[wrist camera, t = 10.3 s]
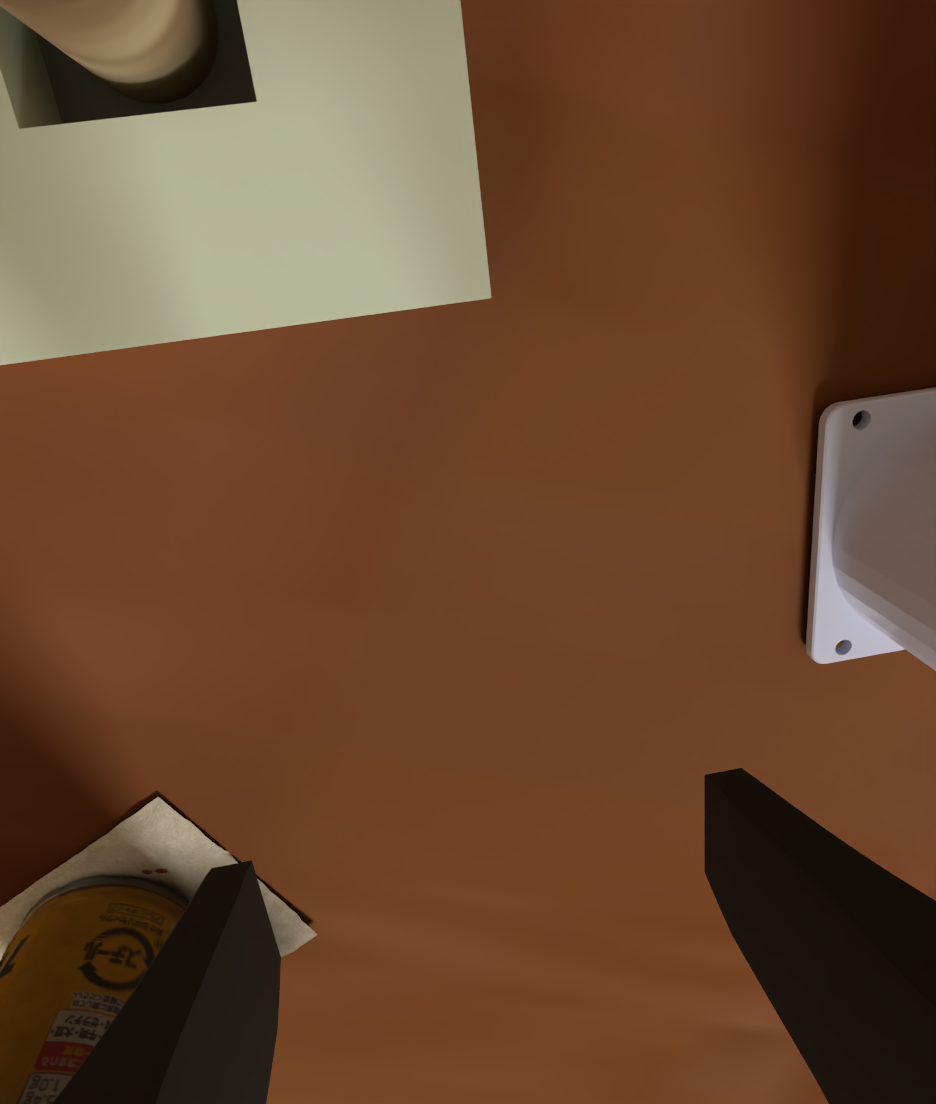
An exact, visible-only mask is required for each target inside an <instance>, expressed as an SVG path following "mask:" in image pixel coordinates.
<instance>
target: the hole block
mask: <svg viewBox="0 0 936 1104" xmlns="http://www.w3.org/2000/svg"><path fill="white" fill-rule="evenodd" d="M212 3H213V7H214V10H215V14H216V19H217V26H218V45H217V51H216V56H215V59H214V62H213V65H212V67H211V70H210V72H209V74H208V75H207V77H206V78H205V80H204V81H203V82H202V83H201V85H200V86H199V87H198V88H197V89H196V90H194V91H193V92H192V93H191V94H189V95H187V96H186V97H184V98H182V99H179V100H177V101H173V102H169V103H160V104H155V103H146V102H141V101H137V100H134V99H132V98H129V97H127V96H125V95H123V94H121V93H119V92H118V91H116V90H115V89H113V88H112V87H110V86H109V85H107V84H106V83H105V82H103V81H102V80H101V79H99V78H98V77H97V76H95V75H94V74H92V73H91V72H90V71H88V70H87V69H86V68H84V67H83V66H82V65H80V64H79V63H77V62H76V61H75V60H73V59H72V58H71V57H69V56H68V55H67V54H65V53H64V52H62V51H61V50H60V49H58V48H57V47H56V46H54V45H53V44H52V43H50V42H49V41H47V40H46V39H45V38H43V37H42V36H41V35H39V34H38V33H37V32H35V31H34V30H32V29H31V28H30V27H28V26H27V25H26V24H24V23H23V22H22V21H20V20H19V19H17V18H16V17H15V16H13V15H12V14H11V13H9V12H8V11H7V10H5V9H4V8H2V7H1V6H0V365H5V364H13V363H20V362H27V361H35V360H42V359H49V358H56V357H64V356H71V355H78V354H86V353H93V352H100V351H108V350H115V349H122V348H130V347H137V346H144V345H152V344H159V343H166V342H174V341H181V340H188V339H195V338H203V337H210V336H217V335H225V334H232V333H239V332H247V331H254V330H261V329H269V328H276V327H283V326H291V325H298V324H305V323H313V322H320V321H327V320H334V319H342V318H349V317H356V316H364V315H371V314H378V313H386V312H393V311H400V310H408V309H415V308H422V307H430V306H437V305H444V304H452V303H459V302H466V301H473V300H481V299H488V298H491V290H490V280H489V271H488V261H487V251H486V242H485V232H484V223H483V213H482V203H481V194H480V184H479V175H478V165H477V155H476V146H475V136H474V127H473V117H472V107H471V98H470V88H469V79H468V69H467V60H466V50H465V40H464V31H463V21H462V12H461V2H460V0H212Z"/></svg>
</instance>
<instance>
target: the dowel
mask: <svg viewBox="0 0 936 1104" xmlns="http://www.w3.org/2000/svg"><path fill="white" fill-rule="evenodd" d="M0 6H1V7H2V8H4V9H5V10H7V11H8V12H9V13H11V14H12V15H13V16H15V17H16V18H17V19H19V20H20V21H22V22H23V23H24V24H26V25H27V26H28V27H30V28H31V29H32V30H34V31H35V32H37V33H38V34H39V35H41V36H42V37H43V38H45V39H46V40H47V41H49V42H50V43H52V44H53V45H54V46H56V47H57V48H58V49H60V50H61V51H62V52H64V53H65V54H67V55H68V56H69V57H71V58H72V59H73V60H75V61H76V62H77V63H79V64H80V65H82V66H83V67H84V68H86V69H87V70H88V71H90V72H91V73H92V74H94V75H95V76H97V77H98V78H99V79H101V80H102V81H103V82H105V83H106V84H107V85H109V86H110V87H112V88H113V89H115V90H116V91H118V92H119V93H121V94H123V95H125V96H127V97H129V98H132V99H134V100H137V101H141V102H146V103H155V104H160V103H169V102H173V101H177V100H179V99H182V98H184V97H186V96H187V95H189V94H191V93H192V92H193V91H194V90H196V89H197V88H198V87H199V86H200V85H201V83H202V82H203V81H204V80H205V78H206V77H207V75H208V74H209V72H210V70H211V67H212V65H213V62H214V59H215V56H216V51H217V45H218V26H217V19H216V14H215V10H214V7H213V3H212V0H0Z"/></svg>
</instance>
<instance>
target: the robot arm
mask: <svg viewBox="0 0 936 1104" xmlns="http://www.w3.org/2000/svg"><path fill="white" fill-rule="evenodd" d="M860 411H861V413H862V418H861V421H860V422H859V423H858V424H857V425H856V426H853V423H852V421H853V418H854V416H855V415H856V414H857V413H858V412H860ZM842 640H844V641H843V644H842V645H841V646H840V647H838V648H836V645H837V644H838V643H839V642H840V641H842ZM835 648H836V649H835ZM904 649H906V650H907V651H909V652H910V653H911V654H913V655H914V656H916V657H917V658H918V659H920V660H921V661H923V662H924V663H925V664H927V665H928V666H930V667H931V668H932V669H934V670H935V671H936V387H934V388H927V389H921V390H914V391H908V392H901V393H895V394H888V395H881V396H875V397H868V398H862V399H855V400H849V401H842V402H837V403H834V404H831V405H830V406H829V407H827V408H826V409H825V410H824V412H823V413H822V415H821V417H820V421H819V432H818V449H817V466H816V483H815V500H814V517H813V534H812V552H811V569H810V586H809V603H808V620H807V637H806V651H807V654H808V655H809V656H810V657H811V658H812V659H813V660H814V661H815V662H818V663H820V664H826V663H832V662H838V661H843V660H849V659H854V658H860V657H865V656H871V655H877V654H882V653H888V652H893V651H899V650H904ZM705 874H706V876H707V879H708V881H709V883H710V886H711V888H712V890H713V893H714V895H715V897H716V900H717V902H718V904H719V907H720V909H721V911H722V913H723V916H724V918H725V920H726V922H727V924H728V927H729V929H730V931H731V933H732V935H733V937H734V939H735V941H736V943H737V944H738V946H739V948H740V950H741V951H742V953H743V955H744V957H745V958H746V960H747V962H748V964H749V965H750V967H751V969H752V971H753V972H754V974H755V976H756V977H757V979H758V981H759V983H760V984H761V986H762V988H763V990H764V991H765V993H766V995H767V996H768V998H769V1000H770V1002H771V1003H772V1005H773V1007H774V1008H775V1010H776V1012H777V1014H778V1015H779V1017H780V1019H781V1020H782V1022H783V1024H784V1026H785V1027H786V1029H787V1031H788V1032H789V1034H790V1036H791V1037H792V1039H793V1041H794V1043H795V1044H796V1046H797V1048H798V1049H799V1051H800V1053H801V1055H802V1056H803V1058H804V1060H805V1061H806V1063H807V1065H808V1067H809V1068H810V1070H811V1072H812V1073H813V1075H814V1077H815V1079H816V1080H817V1082H818V1084H819V1086H820V1088H821V1090H822V1091H823V1093H824V1095H825V1097H826V1099H827V1101H828V1103H829V1104H936V901H935V900H933V899H932V898H930V897H928V896H927V895H925V894H924V893H922V892H920V891H919V890H917V889H915V888H914V887H912V886H911V885H909V884H907V883H906V882H904V881H903V880H901V879H899V878H898V877H896V876H894V875H893V874H891V873H890V872H888V871H887V870H885V869H884V868H882V867H881V866H879V865H877V864H876V863H874V862H873V861H871V860H870V859H868V858H867V857H865V856H864V855H862V854H861V853H859V852H858V851H856V850H855V849H854V848H852V847H851V846H849V845H848V844H846V843H845V842H843V841H842V840H840V839H839V838H837V837H836V836H835V835H833V834H832V833H830V832H829V831H827V830H826V829H825V828H823V827H822V826H820V825H819V824H818V823H816V822H815V821H813V820H812V819H811V818H809V817H808V816H806V815H805V814H804V813H802V812H801V811H800V810H798V809H797V808H795V807H794V806H793V805H791V804H790V803H789V802H787V801H786V800H784V799H783V798H782V797H780V796H779V795H778V794H776V793H775V792H774V791H772V790H771V789H769V788H768V787H767V786H765V785H764V784H763V783H761V782H760V781H759V780H757V779H756V778H754V777H753V776H752V775H750V774H749V773H747V772H746V771H745V770H743V769H742V768H739V769H734V770H729V771H723V772H718V773H713V774H707V775H705ZM280 964H281V956H280V952H279V949H278V946H277V942H276V939H275V936H274V933H273V929H272V926H271V923H270V919H269V916H268V913H267V910H266V906H265V903H264V900H263V896H262V893H261V890H260V886H259V883H258V880H257V877H256V873H255V870H254V867H253V863H252V861H247V862H241V863H236V864H231V865H225V866H220V867H215V868H211V870H210V871H209V872H208V873H207V875H206V876H205V878H204V879H203V881H202V883H201V884H200V886H199V887H198V889H197V891H196V892H195V894H194V896H193V897H192V899H191V901H190V902H189V904H188V905H187V907H186V909H185V910H184V912H183V914H182V915H181V917H180V919H179V920H178V922H177V923H176V925H175V927H174V928H173V930H172V931H171V933H170V935H169V936H168V938H167V939H166V941H165V943H164V944H163V946H162V947H161V949H160V951H159V952H158V954H157V955H156V957H155V958H154V960H153V961H152V963H151V964H150V966H149V967H148V969H147V970H146V972H145V974H144V975H143V977H142V978H141V980H140V981H139V983H138V984H137V986H136V987H135V989H134V990H133V992H132V993H131V995H130V996H129V998H128V999H127V1001H126V1002H125V1004H124V1005H123V1007H122V1008H121V1010H120V1011H119V1013H118V1014H117V1015H116V1017H115V1018H114V1020H113V1021H112V1022H111V1024H110V1025H109V1027H108V1028H107V1029H106V1031H105V1032H104V1034H103V1035H102V1036H101V1038H100V1039H99V1041H98V1042H97V1043H96V1045H95V1046H94V1048H93V1049H92V1050H91V1052H90V1053H89V1055H88V1056H87V1057H86V1059H85V1060H84V1062H83V1063H82V1064H81V1066H80V1067H79V1068H78V1070H77V1071H76V1072H75V1074H74V1075H73V1076H72V1078H71V1079H70V1080H69V1082H68V1083H67V1084H66V1086H65V1087H64V1088H63V1090H62V1091H61V1092H60V1094H59V1095H58V1096H57V1097H56V1099H55V1100H54V1101H53V1103H52V1104H266V1100H267V1094H268V1088H269V1081H270V1075H271V1068H272V1062H273V1055H274V1049H275V1042H276V1035H277V1027H278V1009H279V990H280Z"/></svg>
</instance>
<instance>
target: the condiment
mask: <svg viewBox="0 0 936 1104" xmlns="http://www.w3.org/2000/svg"><path fill="white" fill-rule="evenodd" d="M236 863H238V862H237V861H236V860H234V858H233V857H232V855H231V854H230V853H229V852H228V851H225V850H223V849H222V848H220V847H219V846H217V845H216V844H215V843H213V842H212V841H211V840H210V839H208V838H207V837H206V836H205V835H204V834H203V833H202V832H201V831H200V830H199V829H198V828H197V827H196V826H194V825H193V824H192V823H191V822H190V821H188V820H186V819H185V818H183V817H182V816H181V815H179V814H178V813H177V812H176V811H175V810H173V809H172V808H171V807H170V806H169V805H168V804H166V803H165V802H164V801H163V800H162V799H161V798H159V797H157V798H156V799H154V800H153V801H151V802H150V803H148V804H147V805H146V806H144V807H143V808H142V809H141V810H139V811H138V812H137V813H135V814H134V815H132V816H131V817H129V818H128V819H126V820H124V821H123V822H121V823H120V824H119V825H117V826H116V827H115V828H114V829H113V830H111V831H110V832H109V833H107V834H106V835H104V836H103V837H101V838H100V839H98V840H97V841H95V842H94V843H92V844H91V845H89V846H88V847H87V848H85V849H84V850H83V851H82V852H80V853H79V854H77V855H75V856H73V857H72V858H71V859H69V860H68V861H67V862H65V863H64V864H62V865H60V866H59V867H58V868H56V869H54V870H53V871H51V872H50V873H48V874H47V875H45V876H44V877H42V878H41V879H39V880H38V881H36V882H35V883H34V884H33V885H31V886H30V887H28V888H27V889H26V890H24V891H23V892H22V893H20V894H19V895H17V896H15V897H14V898H13V899H11V900H10V901H9V902H7V903H6V904H4V905H3V906H1V907H0V1104H52V1103H53V1101H54V1100H55V1099H56V1097H57V1096H58V1095H59V1094H60V1092H61V1091H62V1090H63V1088H64V1087H65V1086H66V1084H67V1083H68V1082H69V1080H70V1079H71V1078H72V1076H73V1075H74V1074H75V1072H76V1071H77V1070H78V1068H79V1067H80V1066H81V1064H82V1063H83V1062H84V1060H85V1059H86V1057H87V1056H88V1055H89V1053H90V1052H91V1050H92V1049H93V1048H94V1046H95V1045H96V1043H97V1042H98V1041H99V1039H100V1038H101V1036H102V1035H103V1034H104V1032H105V1031H106V1029H107V1028H108V1027H109V1025H110V1024H111V1022H112V1021H113V1020H114V1018H115V1017H116V1015H117V1014H118V1013H119V1011H120V1010H121V1008H122V1007H123V1005H124V1004H125V1002H126V1001H127V999H128V998H129V996H130V995H131V993H132V992H133V990H134V989H135V987H136V986H137V984H138V983H139V981H140V980H141V978H142V977H143V975H144V974H145V972H146V970H147V969H148V967H149V966H150V964H151V963H152V961H153V960H154V958H155V957H156V955H157V954H158V952H159V951H160V949H161V947H162V946H163V944H164V943H165V941H166V939H167V938H168V936H169V935H170V933H171V931H172V930H173V928H174V927H175V925H176V923H177V922H178V920H179V919H180V917H181V915H182V914H183V912H184V910H185V909H186V907H187V905H188V904H189V902H190V901H191V899H192V897H193V896H194V894H195V892H196V891H197V889H198V887H199V886H200V884H201V883H202V881H203V879H204V878H205V876H206V875H207V873H208V872H209V871H210V870H211V868H215V867H220V866H225V865H231V864H236ZM156 869H166V870H167V871H168V872H167V873H157V872H155V871H156ZM143 870H151V871H152V873H151V874H149V875H148V874H143V872H142V871H143ZM257 880H258V879H257ZM258 883H259V886H260V890H261V893H262V896H263V900H264V903H265V906H266V910H267V913H268V916H269V919H270V923H271V926H272V929H273V933H274V936H275V939H276V942H277V946H278V949H279V952H280V956H281V957H283V956H285V955H287V954H289V953H291V952H293V951H295V950H296V949H298V948H299V947H300V946H301V945H303V944H304V943H306V942H307V941H309V940H310V939H312V938H314V937H315V936H316V935H317V934H316V933H315V932H314V931H313V930H312V929H311V928H310V927H309V926H308V925H306V924H305V923H304V922H303V921H301V919H300V917H299V916H298V915H297V913H295V912H294V911H293V910H291V909H290V908H289V907H288V906H287V905H286V904H285V903H284V902H283V901H282V900H281V899H280V898H278V897H277V896H276V895H274V894H273V893H271V891H270V890H269V889H268V888H267V887H266V886H265V885H264V884H263V883H262V882H261V881H260V880H258Z"/></svg>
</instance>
